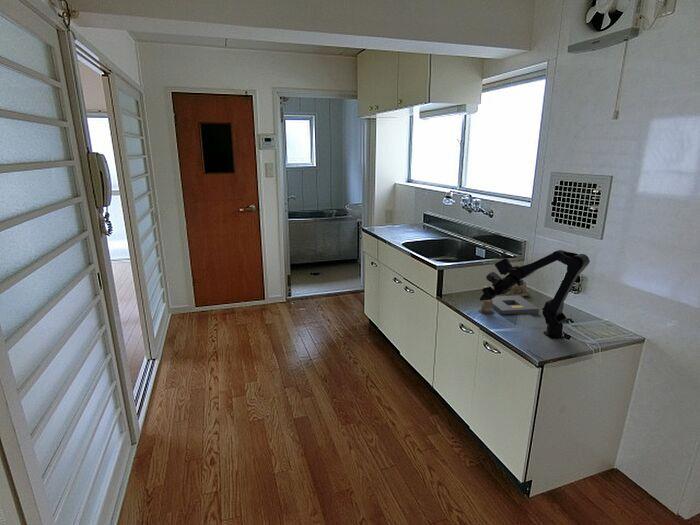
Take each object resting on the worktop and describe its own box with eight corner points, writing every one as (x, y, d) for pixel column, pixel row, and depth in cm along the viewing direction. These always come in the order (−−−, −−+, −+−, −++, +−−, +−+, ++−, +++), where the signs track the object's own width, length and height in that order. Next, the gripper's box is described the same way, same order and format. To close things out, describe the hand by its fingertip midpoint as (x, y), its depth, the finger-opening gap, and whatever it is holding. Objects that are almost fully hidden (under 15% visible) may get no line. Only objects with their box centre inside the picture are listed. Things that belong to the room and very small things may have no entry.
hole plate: (538, 314, 202) (539, 308, 201) (501, 316, 200) (501, 310, 199) (518, 300, 221) (519, 295, 220) (484, 302, 219) (484, 296, 218)
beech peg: (493, 313, 201) (495, 289, 197) (483, 313, 200) (485, 289, 197) (488, 309, 205) (491, 285, 202) (479, 310, 205) (481, 286, 202)
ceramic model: (504, 296, 227) (506, 280, 225) (501, 290, 238) (502, 274, 235) (530, 298, 225) (532, 281, 222) (526, 291, 235) (527, 275, 233)
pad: (497, 316, 200) (497, 314, 199) (482, 316, 199) (482, 315, 199) (490, 310, 207) (490, 308, 207) (475, 310, 207) (475, 309, 206)
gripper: (507, 265, 199) (486, 280, 210) (487, 272, 188) (465, 288, 199) (521, 283, 195) (498, 298, 207) (501, 292, 184) (478, 307, 195)
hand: (485, 297), depth 202 cm, fingers open, 9 cm apart
